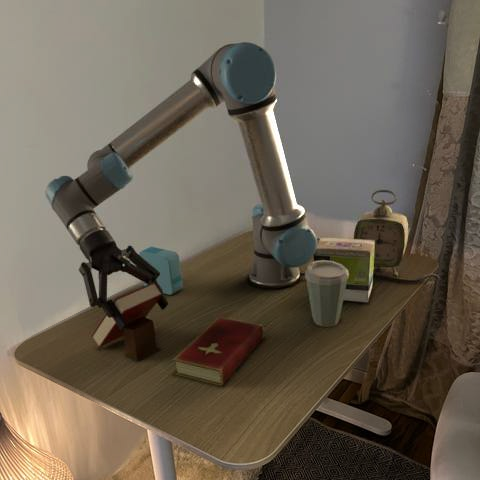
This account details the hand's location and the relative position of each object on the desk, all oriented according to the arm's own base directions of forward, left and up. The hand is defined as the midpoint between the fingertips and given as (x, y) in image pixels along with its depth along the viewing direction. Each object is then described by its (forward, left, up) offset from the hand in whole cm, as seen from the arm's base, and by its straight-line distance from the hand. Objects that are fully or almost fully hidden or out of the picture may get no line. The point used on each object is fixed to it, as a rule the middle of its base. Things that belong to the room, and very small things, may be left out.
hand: (145, 316), depth 116 cm
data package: (+13, -36, -11) cm, 40 cm away
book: (+6, -3, -3) cm, 7 cm away
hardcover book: (-16, -4, -11) cm, 20 cm away
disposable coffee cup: (-37, -25, -11) cm, 46 cm away
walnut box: (+3, -2, -11) cm, 11 cm away
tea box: (-39, -42, -11) cm, 58 cm away
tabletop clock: (-48, -59, -11) cm, 77 cm away
